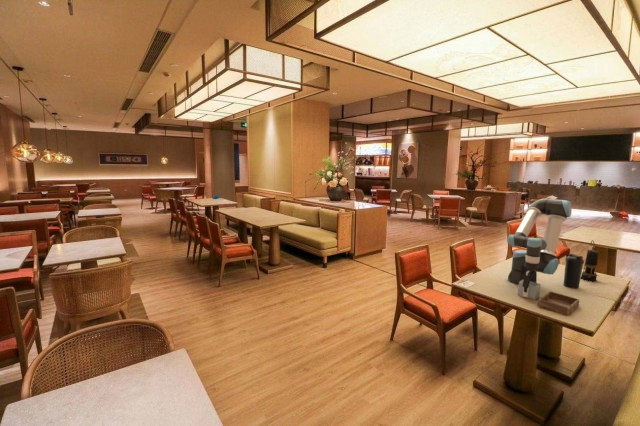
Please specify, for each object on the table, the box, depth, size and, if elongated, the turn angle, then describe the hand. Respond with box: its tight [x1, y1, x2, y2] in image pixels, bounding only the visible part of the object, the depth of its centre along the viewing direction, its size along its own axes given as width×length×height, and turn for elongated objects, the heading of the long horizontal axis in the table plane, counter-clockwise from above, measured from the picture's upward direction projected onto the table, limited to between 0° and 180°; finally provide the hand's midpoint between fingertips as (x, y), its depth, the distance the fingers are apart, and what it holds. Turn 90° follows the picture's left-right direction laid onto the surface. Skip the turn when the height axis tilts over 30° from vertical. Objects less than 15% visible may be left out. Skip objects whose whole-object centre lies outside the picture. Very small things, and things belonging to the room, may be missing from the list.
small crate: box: [517, 280, 541, 301], centre depth 204 cm, size 7×10×9 cm
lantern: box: [580, 240, 600, 283], centre depth 231 cm, size 9×9×30 cm
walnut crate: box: [537, 291, 580, 317], centre depth 190 cm, size 20×15×4 cm
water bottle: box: [563, 253, 585, 289], centre depth 219 cm, size 10×10×23 cm
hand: (528, 294), depth 205 cm, fingers open, 9 cm apart
